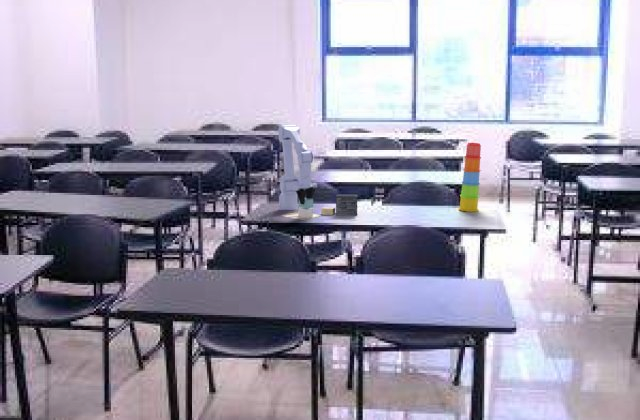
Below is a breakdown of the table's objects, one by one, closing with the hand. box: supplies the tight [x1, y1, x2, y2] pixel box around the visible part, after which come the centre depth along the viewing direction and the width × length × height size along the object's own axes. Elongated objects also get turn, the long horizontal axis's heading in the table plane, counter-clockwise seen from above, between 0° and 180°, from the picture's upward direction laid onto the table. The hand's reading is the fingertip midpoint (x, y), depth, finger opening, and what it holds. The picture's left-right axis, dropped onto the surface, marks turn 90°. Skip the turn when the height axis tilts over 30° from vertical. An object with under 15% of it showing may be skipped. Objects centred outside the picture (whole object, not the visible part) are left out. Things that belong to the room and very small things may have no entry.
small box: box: [335, 193, 358, 217], centre depth 364 cm, size 11×6×10 cm, turn 84°
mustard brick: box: [320, 206, 336, 216], centre depth 365 cm, size 6×4×4 cm, turn 70°
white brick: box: [297, 207, 314, 218], centre depth 359 cm, size 6×4×4 cm, turn 46°
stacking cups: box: [458, 142, 482, 213], centre depth 374 cm, size 10×10×35 cm
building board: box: [280, 211, 323, 221], centre depth 362 cm, size 16×14×1 cm
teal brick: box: [298, 197, 314, 209], centre depth 358 cm, size 6×4×4 cm, turn 46°
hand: (305, 203), depth 358 cm, fingers closed on teal brick, 4 cm apart
